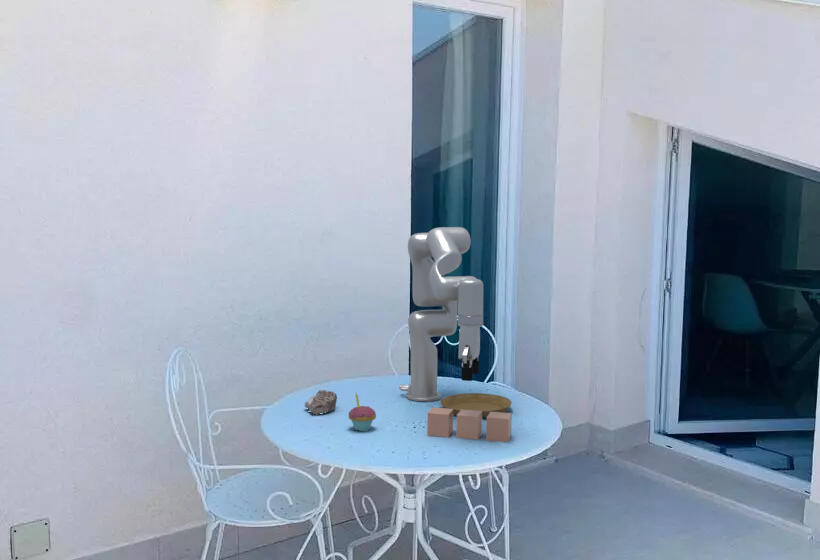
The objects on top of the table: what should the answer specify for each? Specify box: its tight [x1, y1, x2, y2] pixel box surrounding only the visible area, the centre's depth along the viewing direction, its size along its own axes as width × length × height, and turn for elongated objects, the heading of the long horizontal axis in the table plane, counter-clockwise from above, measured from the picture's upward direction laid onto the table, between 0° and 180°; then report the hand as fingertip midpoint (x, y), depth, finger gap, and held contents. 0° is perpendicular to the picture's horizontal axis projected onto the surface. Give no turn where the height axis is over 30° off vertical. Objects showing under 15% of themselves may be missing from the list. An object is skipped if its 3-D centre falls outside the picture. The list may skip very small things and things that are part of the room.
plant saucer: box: [439, 392, 513, 419], centre depth 267 cm, size 24×24×3 cm
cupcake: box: [348, 392, 377, 432], centre depth 245 cm, size 9×8×12 cm
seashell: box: [304, 389, 338, 415], centre depth 266 cm, size 14×9×10 cm
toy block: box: [456, 410, 483, 441], centre depth 238 cm, size 6×6×7 cm
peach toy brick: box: [426, 406, 454, 438], centre depth 241 cm, size 6×6×7 cm
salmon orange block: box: [485, 412, 513, 443], centre depth 236 cm, size 6×6×7 cm
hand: (470, 377), depth 236 cm, fingers open, 9 cm apart
